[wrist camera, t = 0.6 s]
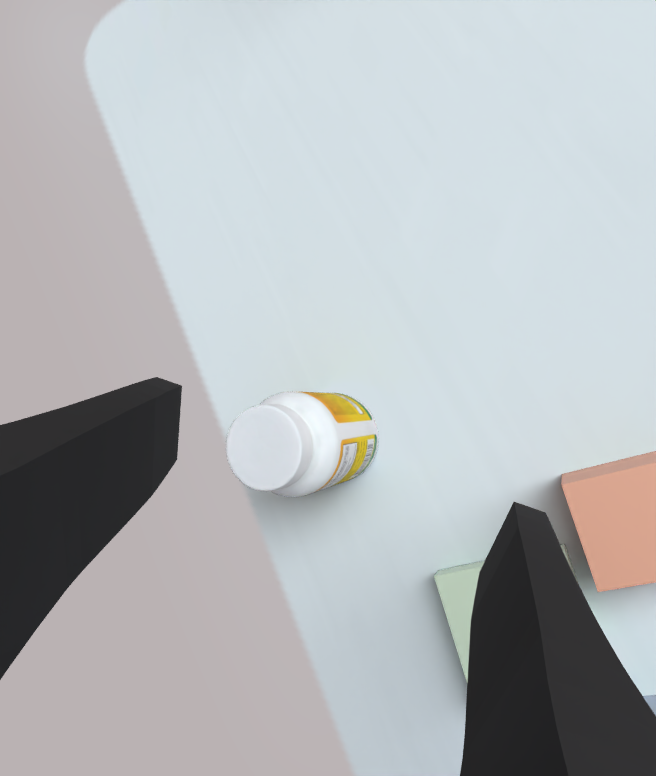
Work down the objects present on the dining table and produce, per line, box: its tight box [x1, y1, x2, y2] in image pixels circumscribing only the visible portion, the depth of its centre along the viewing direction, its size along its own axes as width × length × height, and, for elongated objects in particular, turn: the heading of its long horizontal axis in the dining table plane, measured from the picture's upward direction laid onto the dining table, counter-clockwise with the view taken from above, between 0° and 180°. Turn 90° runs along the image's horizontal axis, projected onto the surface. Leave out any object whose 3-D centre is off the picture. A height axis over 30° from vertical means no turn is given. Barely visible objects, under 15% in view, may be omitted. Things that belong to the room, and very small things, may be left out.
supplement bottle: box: [226, 391, 379, 497], centre depth 30 cm, size 5×5×10 cm
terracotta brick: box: [561, 451, 656, 592], centre depth 27 cm, size 5×5×4 cm
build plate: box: [434, 544, 579, 683], centre depth 30 cm, size 7×7×1 cm
